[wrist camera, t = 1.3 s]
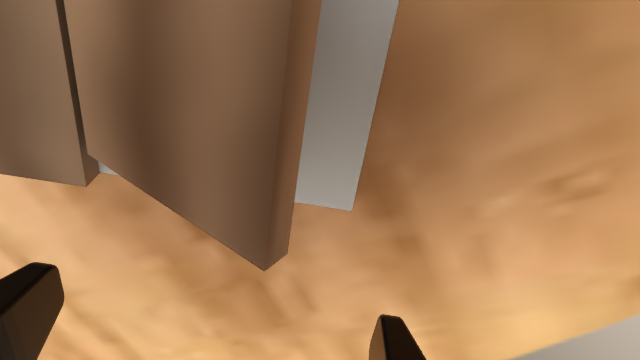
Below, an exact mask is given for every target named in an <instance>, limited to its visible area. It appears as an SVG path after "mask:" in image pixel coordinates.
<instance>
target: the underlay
mask: <svg viewBox="0 0 640 360" xmlns="http://www.w3.org/2000/svg"><path fill="white" fill-rule="evenodd" d="M398 3H399V0H322V2H321V10H320V17H319V24H318V32H317V39H316V46H315V54H314V61H313V68H312V76H311V83H310V90H309V97H308V105H307V112H306V119H305V127H304V134H303V141H302V149H301V156H300V163H299V171H298V178H297V185H296V193H295V200H294V202H295V203H302V204H308V205H315V206H321V207H328V208H334V209H341V210H347V211H352V208H353V204H354V199H355V195H356V190H357V186H358V181H359V177H360V172H361V168H362V164H363V159H364V155H365V150H366V146H367V141H368V137H369V132H370V128H371V123H372V119H373V115H374V110H375V106H376V101H377V97H378V92H379V88H380V83H381V79H382V75H383V70H384V66H385V61H386V57H387V52H388V48H389V43H390V39H391V34H392V30H393V26H394V21H395V17H396V12H397V8H398ZM98 164H99V171H100V173H107V174H113V175H118V174H117V173H115V172H114V171H112V170H111V169H109V168H108V167H106V166H105V165H103V164H102V163H100V162H99V161H98Z"/></svg>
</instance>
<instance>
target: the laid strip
mask: <svg viewBox="0 0 640 360" xmlns="http://www.w3.org/2000/svg"><path fill="white" fill-rule="evenodd" d="M99 173H100V171H99V164H98V161H97V160H96V159H94V158H93V157H91V156H90V155H88V152H87V146H86V140H85V133H84V127H83V121H82V114H81V108H80V101H79V95H78V89H77V82H76V76H75V70H74V63H73V57H72V50H71V44H70V38H69V31H68V25H67V19H66V12H65V6H64V0H0V174H5V175H11V176H18V177H25V178H31V179H38V180H44V181H51V182H57V183H64V184H70V185H77V186H83V187H87V186H88V185H89V184H90V182H91V181H92V180H93V179H94V178H95V177H96V176H97V175H98V174H99Z"/></svg>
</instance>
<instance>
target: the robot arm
mask: <svg viewBox="0 0 640 360" xmlns="http://www.w3.org/2000/svg"><path fill="white" fill-rule="evenodd" d="M63 303H64V291H63V287H62V283H61V278H60V274H59V270H58V268H57V267H56V266H55V265H52V264H45V263H39V262H34V263H30V264H28V265H26V266H24V267H22V268H20V269H19V270H17V271H15V272H13V273H11V274H9V275H7V276H6V277H4V278H2V279H0V360H37V358H38V356H39V354H40V352H41V350H42V348H43V346H44V344H45V342H46V340H47V338H48V335H49V333H50V331H51V329H52V327H53V325H54V323H55V321H56V319H57V317H58V315H59V313H60V310H61V308H62V306H63ZM369 360H426V358H425V356H424V355H423V353H422V351H421V350H420V348H419V346H418V345H417V343H416V341H415V340H414V338H413V336H412V335H411V333H410V331H409V330H408V328H407V326H406V325H405V323H404V321H403V320H402V319H401V318H400V317H397V316H391V315H384V314H383V315H380V316H379V318H378V320H377V323H376V326H375V329H374V333H373V336H372V339H371V343H370V349H369Z"/></svg>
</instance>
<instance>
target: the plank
mask: <svg viewBox="0 0 640 360" xmlns="http://www.w3.org/2000/svg"><path fill="white" fill-rule="evenodd" d="M321 2H322V0H64V6H65V12H66V19H67V25H68V31H69V38H70V44H71V50H72V57H73V63H74V70H75V76H76V82H77V89H78V95H79V101H80V108H81V114H82V121H83V127H84V133H85V140H86V146H87V152H88V155H90V156H91V157H93V158H94V159H96V160H97V161H99V162H100V163H102V164H103V165H105V166H106V167H108V168H109V169H111V170H112V171H114V172H115V173H117V174H118V175H120V176H121V177H123V178H124V179H126V180H127V181H129V182H130V183H132V184H133V185H135V186H136V187H138V188H139V189H141V190H142V191H144V192H146V193H147V194H149V195H150V196H152V197H153V198H155V199H156V200H158V201H159V202H161V203H162V204H164V205H165V206H167V207H168V208H170V209H171V210H173V211H174V212H176V213H177V214H179V215H180V216H182V217H183V218H185V219H186V220H188V221H189V222H191V223H192V224H194V225H195V226H197V227H198V228H200V229H201V230H203V231H204V232H206V233H207V234H209V235H210V236H212V237H213V238H215V239H216V240H218V241H219V242H221V243H222V244H224V245H225V246H227V247H228V248H230V249H231V250H233V251H234V252H236V253H237V254H239V255H240V256H242V257H243V258H245V259H246V260H248V261H249V262H251V263H252V264H254V265H255V266H257V267H258V268H260V269H261V270H263V271H265V270H267V269H268V268H269V267H271V266H272V265H273V264H274V263H276V262H277V261H278V260H280V259H281V258H282V257H283V256H285V255H286V254H287V251H288V244H289V237H290V229H291V222H292V215H293V207H294V200H295V193H296V185H297V178H298V171H299V163H300V156H301V149H302V141H303V134H304V127H305V119H306V112H307V105H308V97H309V90H310V83H311V76H312V68H313V61H314V54H315V46H316V39H317V32H318V24H319V17H320V10H321Z"/></svg>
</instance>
